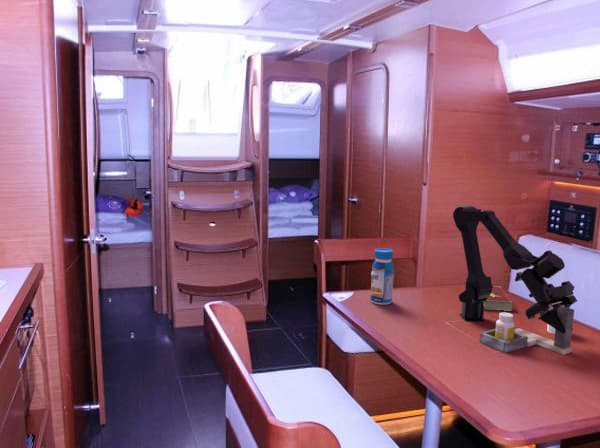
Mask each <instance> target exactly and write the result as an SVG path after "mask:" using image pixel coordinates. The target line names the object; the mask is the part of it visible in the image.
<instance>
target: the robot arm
mask: <svg viewBox="0 0 600 448" xmlns="http://www.w3.org/2000/svg"><path fill="white" fill-rule="evenodd" d="M452 218H453V221H454V224H455V227H456V228H457V229H458V230H459V232H460V234H461V239H462V246H463V250H464V256H465V262H466V268H467V276H466V280H465V290H463V292H461V293H460V294H459V295H458V299H459V302H461V303H462V305H461V313H459V317H461V318H462V319H463V320H464V321H465V322H485V319H484V317H485V316H484V315H485V309H484V306H483V301H486V300H487V298H488V297H489V296H490V294H491V293H492V288H493V286H494V285H493V284H492V277H491V276H487V275H486V274H485V273H484V270H483V269H484V267H483V263H482V258H481V251H480V245H479V241H478V235H477V229H478V226H479V223H482V226H484V227H485V229H486V230H487V232H489V234H490V236H491V237H492V238H493V239H494V240H495V242H496V243H497V245H498V246H499V247H500V249H501V250H502V254H503V259H504V260H505V262H506V264H507V266H508V268H510V269H511V270H514V271H519V270H522V269H525V270H523V271H522V272H521V271H519V272H516V273H515V274H516V275H515V279H514V281H515V282H521V281H522V282H523V284H524V285H525V287H526V288H527V289H528V291H529V294H528V297H529V298H530V299H531V298H533V300H534V301H535V303H534V304H532V305H531V306H529V307H528V308H526V309H525V317H526V318H527V320H528V321H529V320H532V319H535V318H536V316H537V315H538V314H539V316H538V317H537V320H540V321H542V322H544V323H545V324H546V325H547V324H549V325H550V326H552V327H553V328H555V329H556V330H558V331H559V332H561V333H562V334H564V333H566V330H565V328H564V326H563V325H562V323H561V321H560V319H559V317H558V316H557V312H558V308H561V307H567V308H570V307H572V305H574V304H575V303H577V302H578V299H577V298H576V296H575V295H574V290H575V286H574V285H573V283H571V281H570V280H566V281H562V282H561V284H560V285H558V286H554V284H553V283H548V282H547V280H546V279H551V278H552V277H554V276H556V274H558V273H559V272H561V271H562V270H564V269H565V262H564V260H563V259H562V258H561V257H559V255H558V254H555V253H554V252H552V250H550V249H549V250H545V251H544V252H543V254H542V255H540V256H536V255H534V254H532V252H531V251H530V250H529V249H528V248H526V247H525V246H524V245H522V244H520V243H519V242H517V241H516V240H515V238H514V237H513V236H512V235H511V234H510V232H509V231H508V230H507V229H506V226H504V225H503V223H502V222H501V221H500V220H499V218H498V217H497V216H496V213H495V211H493V210H491V209H484V208H482V209H481V208H476V207H475V206H473V205H465V206H458V207H456V208H455V209H454V211H453V212H452ZM530 267H532V268H530ZM570 309H571V308H570ZM573 330H574V328H573V327H572V331H573Z"/></svg>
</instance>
